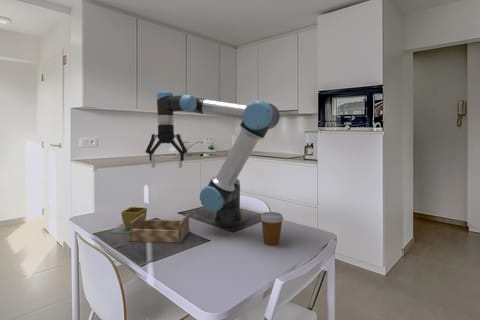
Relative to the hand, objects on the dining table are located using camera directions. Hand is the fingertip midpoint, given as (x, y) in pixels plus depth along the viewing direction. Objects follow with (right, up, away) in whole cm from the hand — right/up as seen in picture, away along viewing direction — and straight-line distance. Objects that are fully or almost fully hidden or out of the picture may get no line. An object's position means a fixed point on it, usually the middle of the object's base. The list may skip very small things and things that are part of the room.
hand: (166, 167), depth 145 cm
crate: (+1, -30, -14) cm, 33 cm away
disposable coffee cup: (+49, -31, -21) cm, 62 cm away
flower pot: (-14, -29, -5) cm, 33 cm away
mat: (-17, -29, -5) cm, 34 cm away
